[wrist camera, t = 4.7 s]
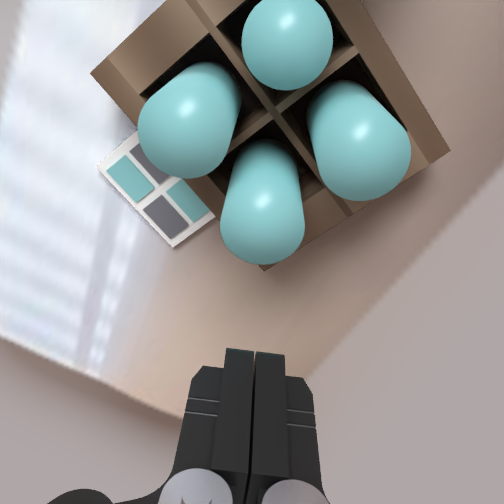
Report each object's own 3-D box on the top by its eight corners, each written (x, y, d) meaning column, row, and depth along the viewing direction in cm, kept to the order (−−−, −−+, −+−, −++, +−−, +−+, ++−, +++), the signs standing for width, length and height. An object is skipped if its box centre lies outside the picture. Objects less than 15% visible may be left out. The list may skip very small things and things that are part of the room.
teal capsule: (291, -24, 24) (297, -31, 18) (330, 37, 26) (350, 51, 19) (236, 24, 25) (223, 34, 19) (277, 80, 27) (277, 108, 20)
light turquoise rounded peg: (271, 125, 26) (270, 170, 19) (310, 176, 27) (321, 235, 20) (220, 164, 27) (202, 220, 20) (259, 211, 28) (254, 278, 21)
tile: (149, 119, 28) (146, 122, 28) (224, 207, 31) (223, 212, 30) (98, 163, 30) (94, 167, 29) (174, 243, 32) (172, 248, 31)
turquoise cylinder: (351, 64, 24) (380, 90, 17) (388, 121, 25) (427, 166, 19) (292, 109, 25) (299, 149, 19) (330, 161, 26) (349, 217, 20)
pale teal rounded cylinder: (211, 45, 24) (187, 64, 17) (255, 104, 25) (249, 142, 19) (159, 91, 25) (118, 125, 18) (204, 145, 26) (180, 195, 20)
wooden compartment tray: (287, -100, 23) (289, -118, 20) (428, 131, 28) (450, 150, 24) (114, 62, 27) (89, 73, 23) (264, 240, 32) (263, 271, 28)
